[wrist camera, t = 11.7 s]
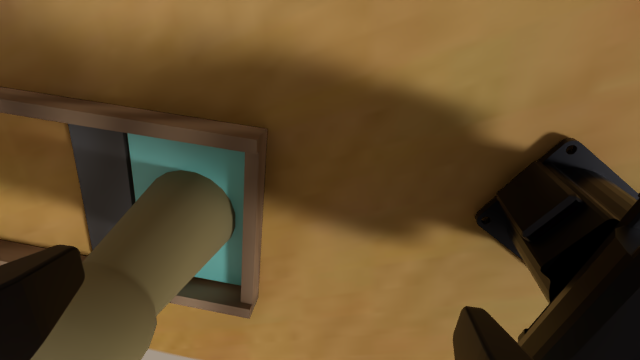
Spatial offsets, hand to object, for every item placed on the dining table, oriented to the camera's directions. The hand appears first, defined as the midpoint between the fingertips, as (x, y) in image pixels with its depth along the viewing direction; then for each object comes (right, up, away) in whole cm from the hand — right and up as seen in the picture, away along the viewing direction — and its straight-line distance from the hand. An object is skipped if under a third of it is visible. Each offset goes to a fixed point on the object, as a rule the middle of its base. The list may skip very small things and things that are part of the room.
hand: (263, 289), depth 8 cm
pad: (-7, 0, +15) cm, 17 cm away
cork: (-7, 0, +15) cm, 17 cm away
